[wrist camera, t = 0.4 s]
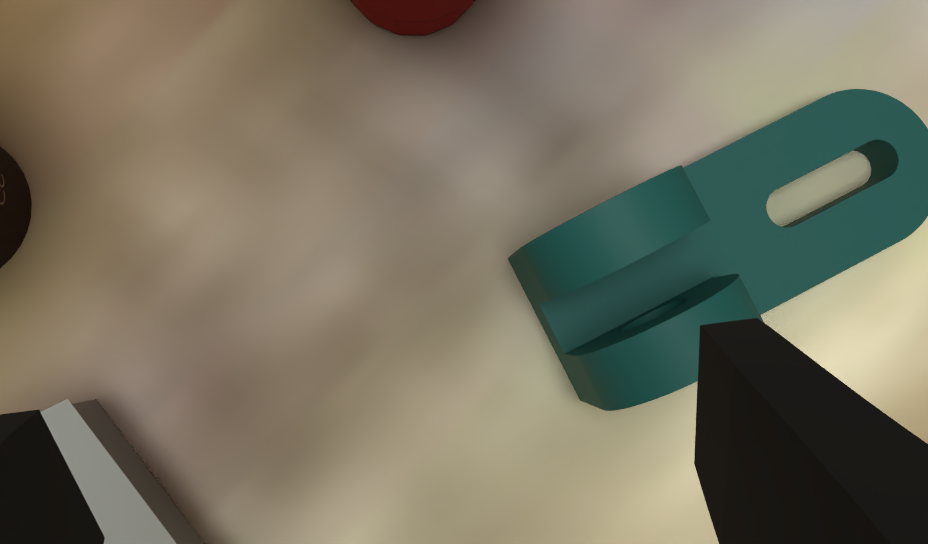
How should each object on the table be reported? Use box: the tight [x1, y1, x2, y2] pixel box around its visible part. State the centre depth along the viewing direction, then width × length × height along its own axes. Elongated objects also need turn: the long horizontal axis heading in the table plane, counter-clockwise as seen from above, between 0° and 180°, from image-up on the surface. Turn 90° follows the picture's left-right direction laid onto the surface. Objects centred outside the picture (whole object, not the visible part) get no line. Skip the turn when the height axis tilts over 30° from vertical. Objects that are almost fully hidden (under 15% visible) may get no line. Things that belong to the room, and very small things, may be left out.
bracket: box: [508, 89, 928, 411], centre depth 32 cm, size 18×7×8 cm, turn 117°
